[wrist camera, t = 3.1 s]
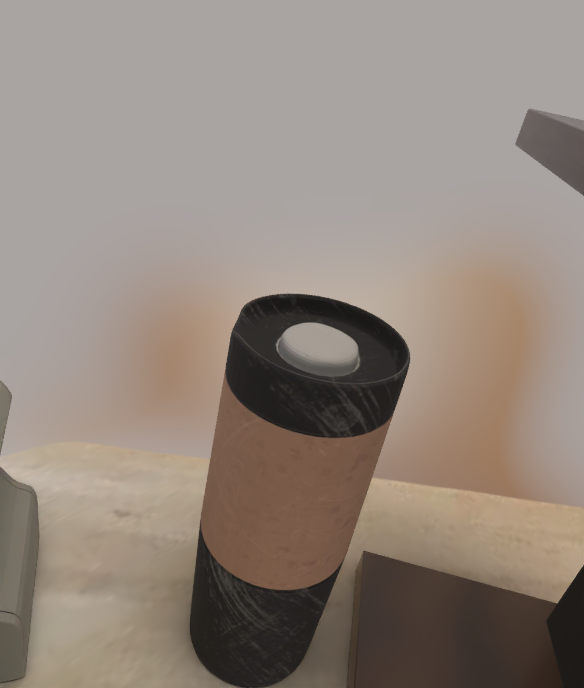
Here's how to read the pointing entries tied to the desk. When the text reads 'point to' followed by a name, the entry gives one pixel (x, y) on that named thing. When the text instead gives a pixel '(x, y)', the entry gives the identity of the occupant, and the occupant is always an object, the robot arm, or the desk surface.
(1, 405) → the digital clock
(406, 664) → the shelf
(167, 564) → the desk surface
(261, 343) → the travel mug
